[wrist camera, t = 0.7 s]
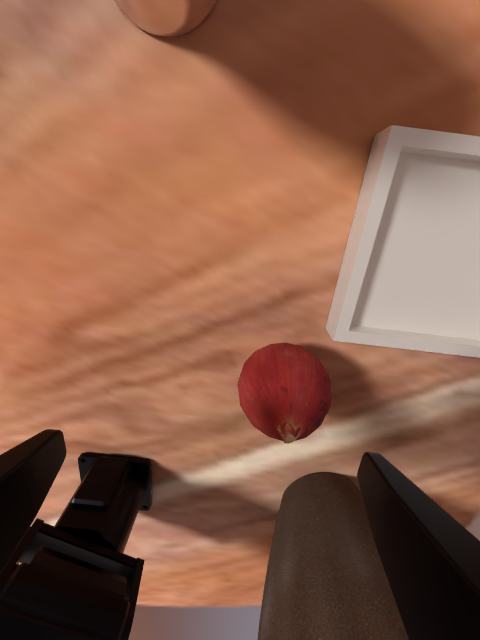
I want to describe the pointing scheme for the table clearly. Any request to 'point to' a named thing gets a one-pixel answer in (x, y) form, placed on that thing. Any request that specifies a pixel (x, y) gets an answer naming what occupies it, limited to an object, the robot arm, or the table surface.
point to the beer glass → (166, 15)
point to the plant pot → (326, 568)
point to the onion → (284, 391)
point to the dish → (414, 247)
